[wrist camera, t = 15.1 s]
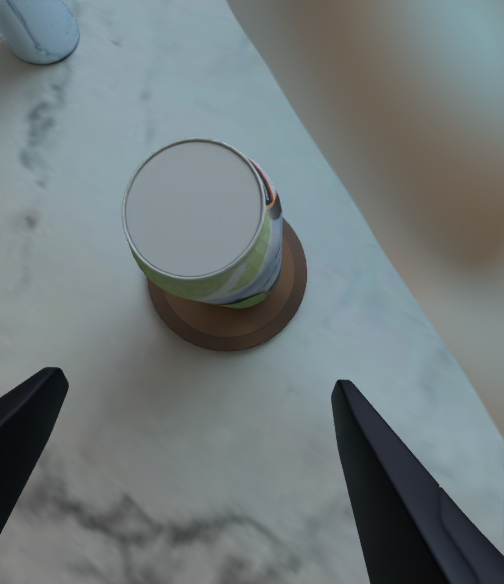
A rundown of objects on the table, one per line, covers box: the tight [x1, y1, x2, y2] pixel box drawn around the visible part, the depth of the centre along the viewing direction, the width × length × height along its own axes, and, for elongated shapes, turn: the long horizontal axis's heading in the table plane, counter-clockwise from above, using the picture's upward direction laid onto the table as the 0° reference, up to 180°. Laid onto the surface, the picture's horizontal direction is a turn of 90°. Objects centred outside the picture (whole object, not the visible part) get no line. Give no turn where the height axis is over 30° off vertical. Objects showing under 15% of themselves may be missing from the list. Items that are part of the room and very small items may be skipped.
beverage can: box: [122, 137, 282, 308], centre depth 15 cm, size 6×7×12 cm
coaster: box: [147, 217, 307, 351], centre depth 21 cm, size 12×12×1 cm
